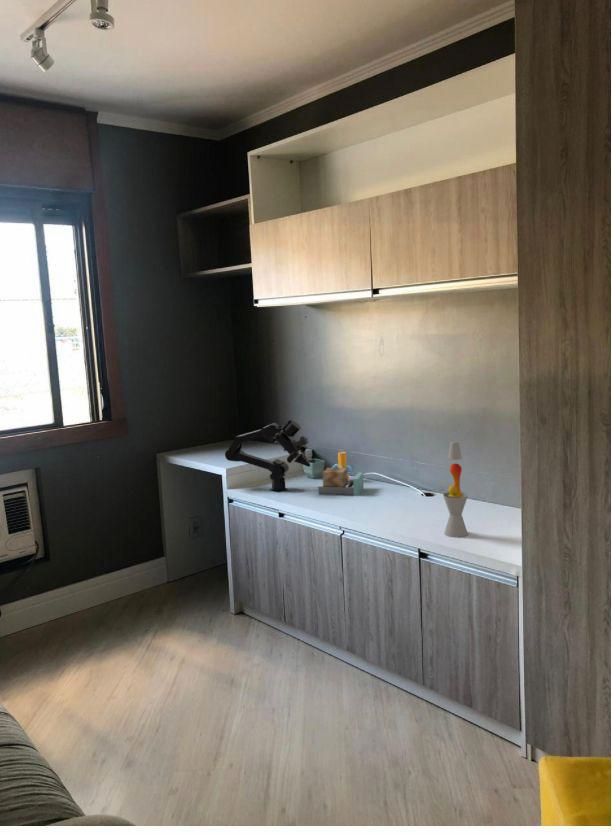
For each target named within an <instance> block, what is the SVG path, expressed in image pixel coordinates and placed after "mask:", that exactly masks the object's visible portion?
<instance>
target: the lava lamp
mask: <svg viewBox="0 0 612 834" xmlns="http://www.w3.org/2000/svg"><path fill="white" fill-rule="evenodd" d="M447 459H449V460H453V461H455V460H459V461H460V460H462V453H461V447H460V442H459V441H451V442H450V443H449V451H448V457H447ZM449 472H450V474H451V476H452V478H453V483H454V484H452V485H449V487H448V492H445V493H443V494H442V496H443V499H444V501H445V502H444V503H445V504H446V507H447V510H448V513H449V515H448V516H449V517H448V519H447V523H446V526H445V530H444V533H443V534H444V535H445V537H446V536H447V537H450V538H464V537H466V536H468V535H469V534H468V530H467V527H466V524H465V521H464V518H463V515H462V514H463V511H464V509H465V506H466V502H467V500H468V497H469V496H468V495H469V494H468V493H466V492H462V491H461V484H460V483H461V473H462V466H461V465H460V464H459V463H457V462H456V463H452V464H451V465H450V466H449Z"/></svg>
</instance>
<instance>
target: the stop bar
mask: <svg viewBox="0 0 612 834" xmlns="http://www.w3.org/2000/svg"><path fill="white" fill-rule="evenodd" d="M352 481H353V486H354V495H353V496H355V497H358V496H359V495H360V494H361V492H362V491H363V490H364V472H361V471H359V472H358V473H357V474H356V475H355V476H354V477H353V480H352Z"/></svg>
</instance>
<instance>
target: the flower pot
mask: <svg viewBox="0 0 612 834" xmlns="http://www.w3.org/2000/svg"><path fill="white" fill-rule="evenodd" d="M307 460H308V461H309V463H310V466H309V467H308V466H305V465H303V464H302V467H303V471H304V474H305V475H306V477H307V478H310V479H313V478H314V479H318V478H321V477H322V476H323V471H324V470H325V463H326V461H325V460H323V459H318V458H311V459H307Z"/></svg>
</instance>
